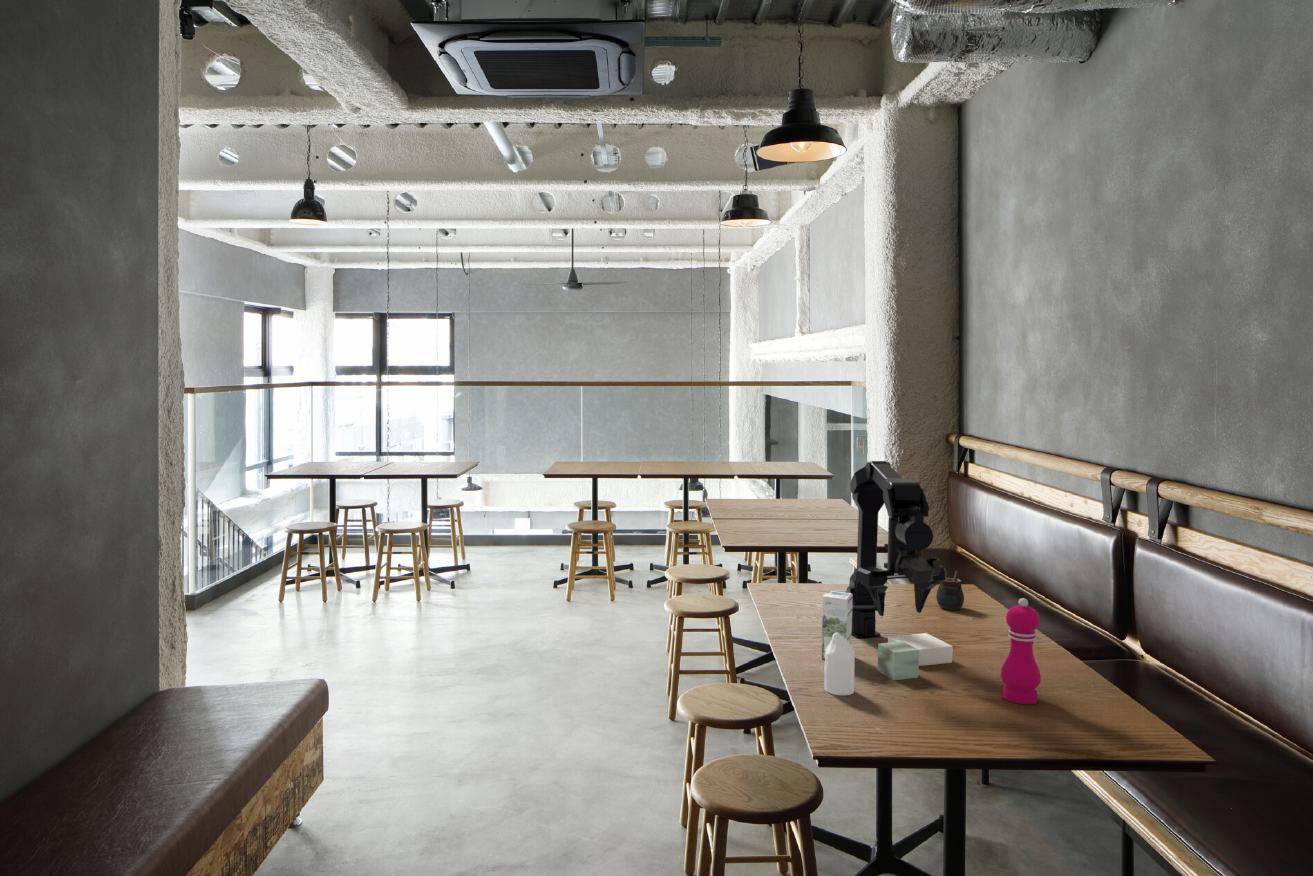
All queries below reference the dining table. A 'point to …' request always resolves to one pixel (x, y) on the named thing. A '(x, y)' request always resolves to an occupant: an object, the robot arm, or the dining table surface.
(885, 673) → the green cube
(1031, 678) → the pepper mill
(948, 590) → the mate gourd
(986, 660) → the dining table surface
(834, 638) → the white bottle
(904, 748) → the dining table surface
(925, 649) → the cream block
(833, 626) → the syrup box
